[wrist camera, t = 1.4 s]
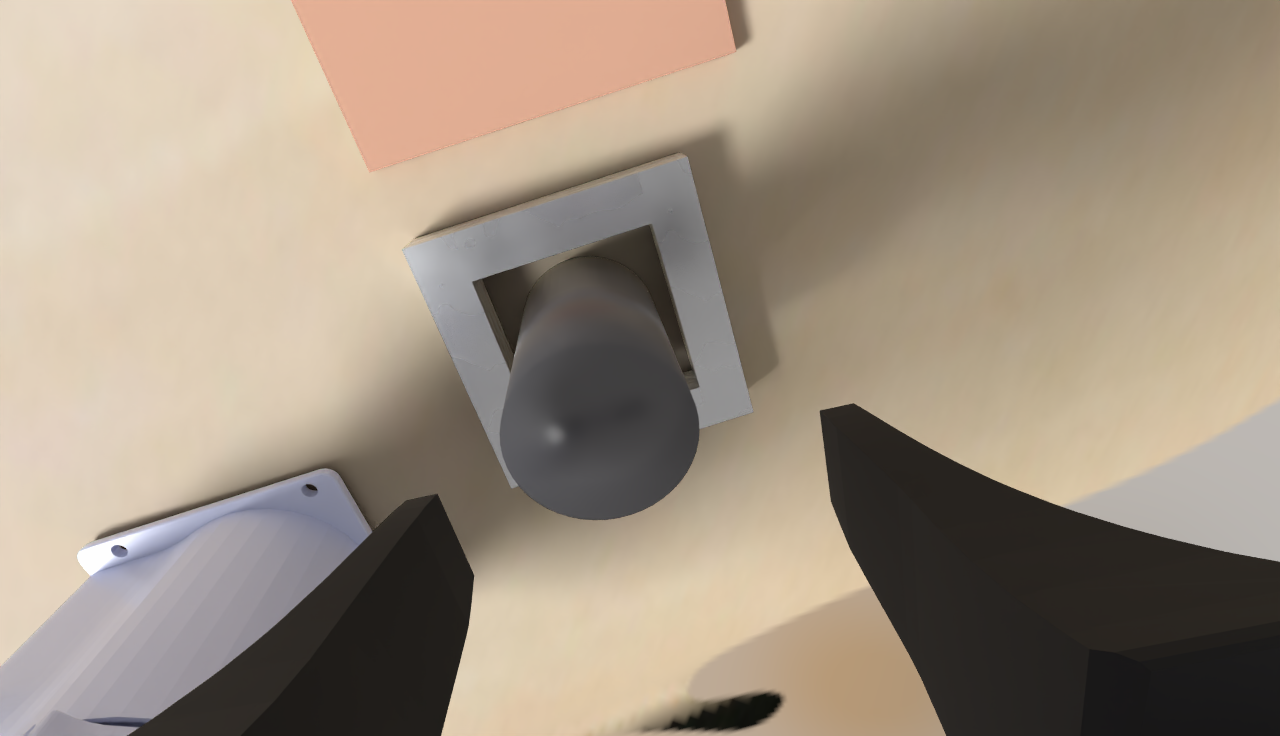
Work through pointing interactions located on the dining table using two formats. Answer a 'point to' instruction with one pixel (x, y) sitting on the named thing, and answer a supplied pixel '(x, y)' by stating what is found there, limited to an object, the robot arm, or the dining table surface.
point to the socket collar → (568, 222)
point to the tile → (493, 61)
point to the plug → (596, 396)
